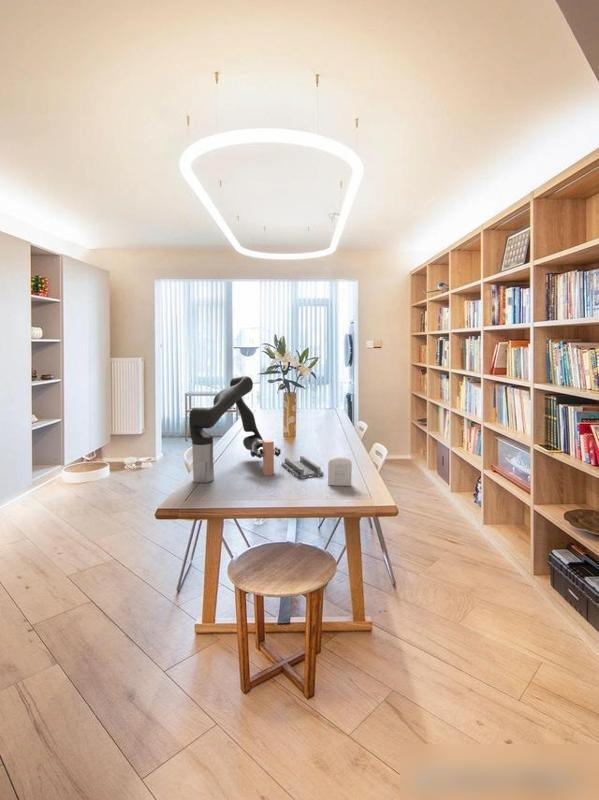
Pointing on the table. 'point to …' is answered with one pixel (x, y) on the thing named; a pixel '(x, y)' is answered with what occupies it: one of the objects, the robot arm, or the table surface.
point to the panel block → (268, 457)
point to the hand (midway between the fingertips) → (269, 455)
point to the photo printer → (339, 471)
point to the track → (302, 467)
